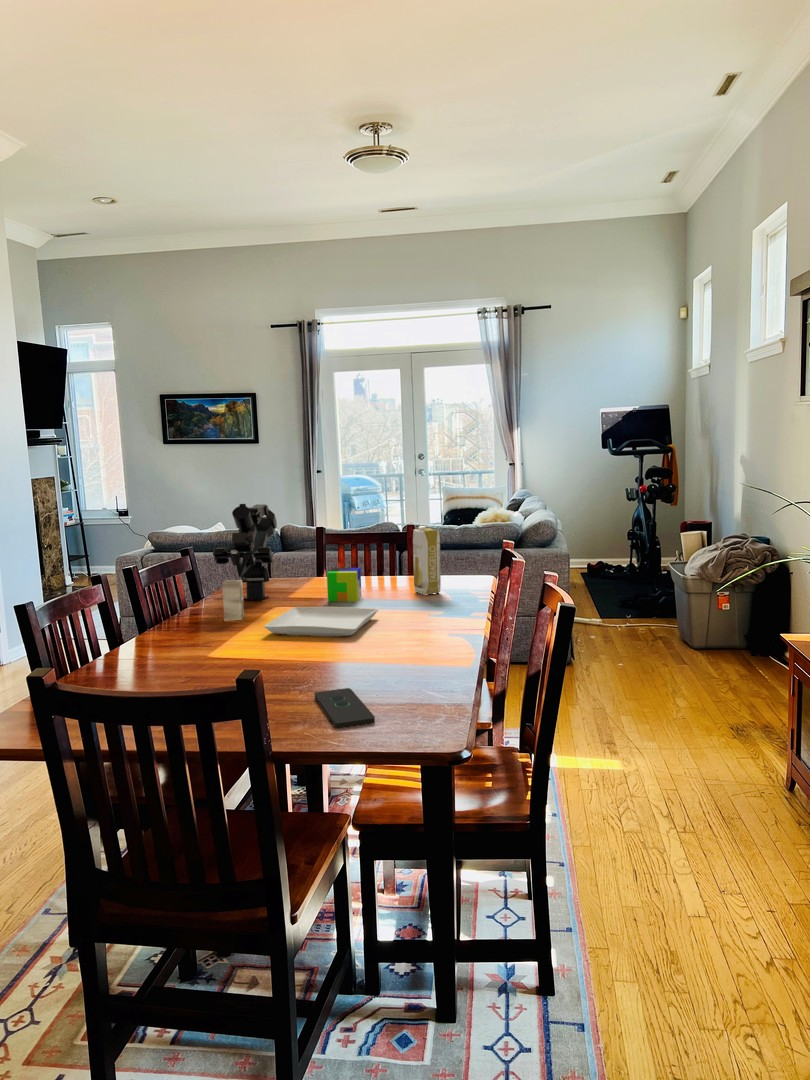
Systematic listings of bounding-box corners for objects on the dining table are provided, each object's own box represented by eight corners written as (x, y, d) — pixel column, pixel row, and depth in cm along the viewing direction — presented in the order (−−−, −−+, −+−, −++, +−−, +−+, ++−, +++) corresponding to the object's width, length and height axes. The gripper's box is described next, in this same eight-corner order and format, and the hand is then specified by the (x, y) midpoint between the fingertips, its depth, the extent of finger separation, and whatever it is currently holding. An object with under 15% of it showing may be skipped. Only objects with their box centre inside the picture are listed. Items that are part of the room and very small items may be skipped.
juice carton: (411, 592, 282) (410, 525, 278) (431, 589, 285) (430, 524, 282) (423, 596, 273) (421, 528, 270) (443, 594, 276) (442, 526, 273)
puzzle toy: (361, 595, 278) (360, 567, 277) (356, 601, 268) (355, 572, 267) (333, 595, 279) (332, 568, 278) (328, 601, 269) (326, 573, 268)
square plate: (356, 641, 217) (355, 627, 216) (262, 638, 222) (261, 625, 222) (379, 618, 243) (378, 606, 242) (294, 617, 248) (294, 605, 248)
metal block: (228, 617, 248) (226, 580, 247) (244, 617, 248) (242, 579, 247) (224, 621, 243) (222, 583, 242) (240, 621, 243) (238, 582, 242)
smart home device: (350, 686, 172) (376, 717, 153) (350, 694, 172) (376, 725, 153) (313, 691, 169) (334, 722, 150) (313, 699, 169) (335, 731, 150)
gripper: (212, 523, 257) (205, 562, 248) (269, 522, 256) (264, 561, 247) (220, 544, 266) (213, 582, 256) (275, 543, 265) (270, 581, 256)
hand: (239, 576), depth 254 cm, fingers closed
